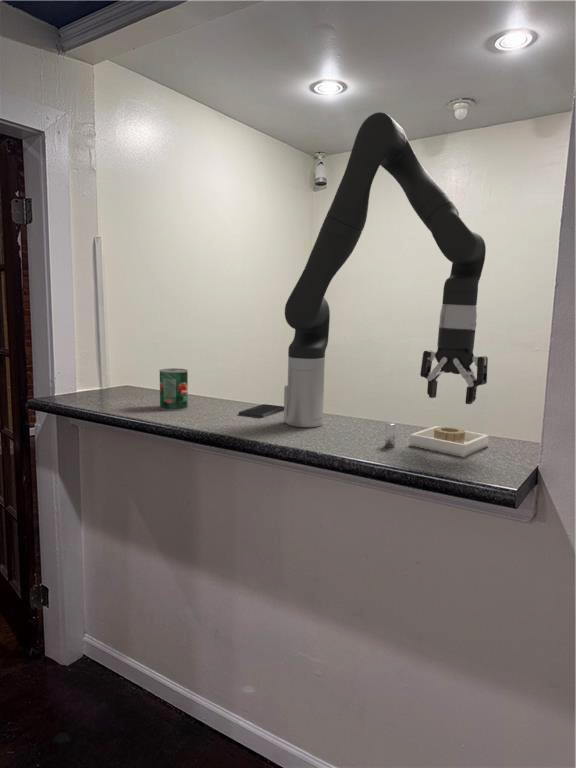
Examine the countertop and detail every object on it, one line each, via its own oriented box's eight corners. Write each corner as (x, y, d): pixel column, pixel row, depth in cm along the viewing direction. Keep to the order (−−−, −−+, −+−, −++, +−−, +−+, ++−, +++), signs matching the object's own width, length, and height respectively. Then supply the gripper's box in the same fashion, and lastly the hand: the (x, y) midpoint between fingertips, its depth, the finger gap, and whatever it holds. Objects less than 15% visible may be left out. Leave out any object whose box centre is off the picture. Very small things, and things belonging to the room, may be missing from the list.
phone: (287, 406, 157) (262, 415, 144) (286, 410, 157) (261, 419, 144) (263, 404, 160) (236, 412, 147) (263, 407, 161) (236, 416, 147)
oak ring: (428, 443, 119) (429, 429, 119) (441, 438, 124) (442, 425, 124) (456, 448, 115) (457, 434, 115) (468, 443, 120) (469, 430, 119)
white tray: (409, 445, 119) (409, 434, 119) (435, 436, 128) (436, 425, 128) (463, 457, 111) (464, 445, 110) (487, 446, 120) (488, 435, 120)
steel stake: (382, 446, 118) (384, 423, 117) (388, 444, 120) (389, 422, 119) (391, 448, 117) (392, 425, 116) (396, 446, 118) (398, 423, 118)
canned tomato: (190, 410, 153) (190, 371, 151) (162, 411, 150) (161, 372, 148) (185, 404, 160) (184, 368, 158) (157, 406, 157) (157, 368, 155)
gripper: (418, 324, 118) (412, 397, 120) (482, 328, 108) (474, 408, 111) (434, 324, 123) (428, 394, 126) (496, 328, 114) (489, 403, 116)
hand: (450, 400), depth 118 cm, fingers open, 8 cm apart
